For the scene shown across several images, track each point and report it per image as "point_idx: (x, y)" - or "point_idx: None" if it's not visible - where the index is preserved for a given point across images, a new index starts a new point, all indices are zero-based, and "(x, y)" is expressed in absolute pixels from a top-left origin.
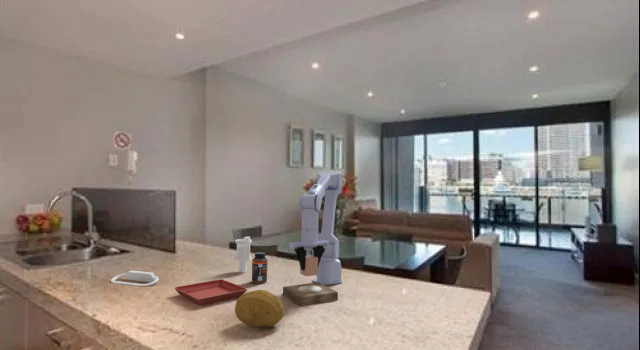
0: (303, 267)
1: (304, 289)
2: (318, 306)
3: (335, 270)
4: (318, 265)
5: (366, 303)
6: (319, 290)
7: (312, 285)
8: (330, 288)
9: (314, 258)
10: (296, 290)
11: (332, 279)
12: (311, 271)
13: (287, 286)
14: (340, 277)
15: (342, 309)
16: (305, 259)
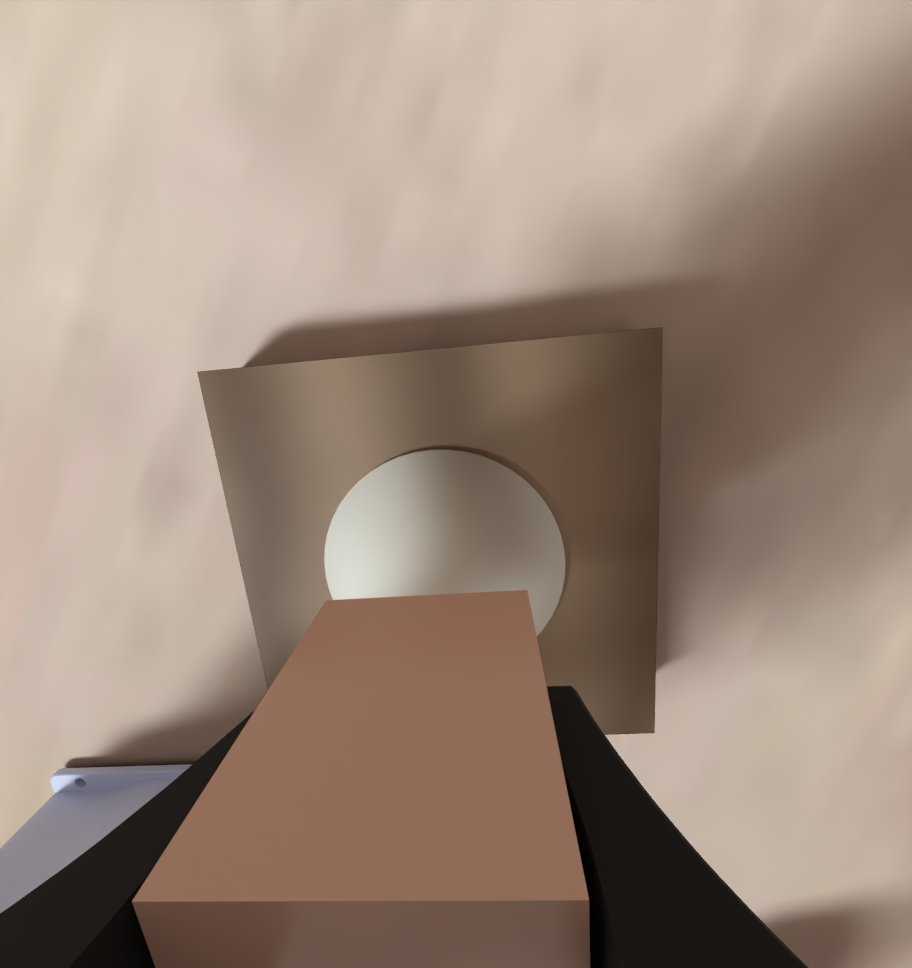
0: (582, 712)
1: (505, 563)
2: (481, 246)
3: (16, 897)
4: (238, 727)
5: (9, 158)
6: (371, 478)
7: None
8: (232, 519)
9: (273, 864)
10: (586, 577)
11: (119, 806)
12: (423, 631)
13: (611, 724)
14: (33, 821)
15: (295, 62)
16: (580, 878)
